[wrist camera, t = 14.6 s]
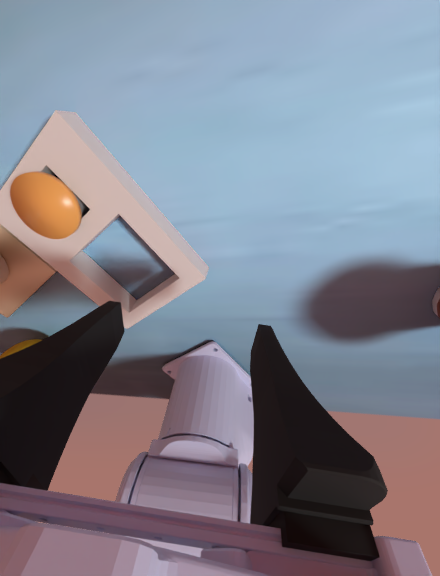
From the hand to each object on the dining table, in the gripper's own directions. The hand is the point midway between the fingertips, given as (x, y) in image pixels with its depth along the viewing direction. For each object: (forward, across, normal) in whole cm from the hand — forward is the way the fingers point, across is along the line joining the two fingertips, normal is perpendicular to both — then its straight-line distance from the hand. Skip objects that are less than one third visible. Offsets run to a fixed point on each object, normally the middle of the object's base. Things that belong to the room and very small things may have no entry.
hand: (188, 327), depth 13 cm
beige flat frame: (+9, +8, 0) cm, 13 cm away
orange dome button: (+9, +11, -3) cm, 15 cm away
